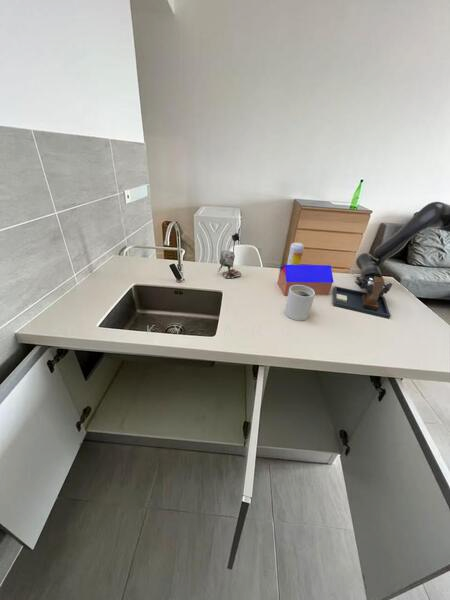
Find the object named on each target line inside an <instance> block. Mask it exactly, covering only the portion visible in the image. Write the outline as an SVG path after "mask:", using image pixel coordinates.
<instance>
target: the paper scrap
mask: <svg viewBox="0 0 450 600" xmlns="http://www.w3.org/2000/svg"><path fill="white" fill-rule="evenodd" d="M336 300H338V301H342V302H347V296H345V295H340V294H337V296H336Z"/></svg>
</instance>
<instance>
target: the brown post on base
mask: <svg viewBox="0 0 450 600" xmlns="http://www.w3.org/2000/svg"><path fill="white" fill-rule="evenodd" d="M382 277H383V276H382ZM382 277H376V276H374V279H373V281H372V284H371V286H372V293H371V295H370V294H368V293H367V292H366V293H367V296H366V295H363V296H362V298H361V300H362V306H363V308H364V309H368V310H373V311H377V310H378V308H379V306H378V303H377V300H378V298H379V295H380V293H381V291H382V289H383V287H384V284H386V281H385V280H384V277H383V278H382Z"/></svg>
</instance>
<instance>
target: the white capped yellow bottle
mask: <svg viewBox="0 0 450 600" xmlns="http://www.w3.org/2000/svg"><path fill="white" fill-rule="evenodd" d="M304 248H305V246H304V244H303V243H302V242H292V243H291V244H290V247H289V254H288V257H287V261H286V262H287V263H286V265H301V262H302V256H303V254H304Z"/></svg>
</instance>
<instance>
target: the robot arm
mask: <svg viewBox="0 0 450 600" xmlns="http://www.w3.org/2000/svg"><path fill="white" fill-rule="evenodd" d="M427 228H430V229H432V230H433V229H434V230H438V231H439V230H440V231H442V232H447V233H450V204H448V203H445V202H441V201H432V202H429V203H428V204H426V205H424V206H423V207H422V208H421V209H420V210H419V211H418V212H417V213H416V214H414V215H413V217H412V218H410V219H409V220H408V221H407V223H405V224H404V225H403V226H402V227H401V228H400V229H398V230H397V232H395V233H394V234H392V235H391V236H390V237H389V238H388V239H387V240H385V241H383V242H382V243H380V244H379V245H377V247H375V248H374V250H373V252H374V255H375V257H376V258H375V257H374V256H373V255H372V254H371V253H368V252H363V253H360V254H359V255H358V256H357V258H356V260H355V263H356V265H357V268H358V269H359V270H360V276H357V277H356V279H355V282H354V283H355V284H356V285H357V286H358V288H360V289H361V290H364V289H365V292H366V293H368V294H370V295H371V293H372V286H371V284H372V281H373V279H374V276H376V277H382V278H383V279H384V277H383V274H382V272H381V270H380V267H381V266H382V265H383V264H384V263H385V261H387V260H388V259H389V258H391V257H393V256H394V255H396V254H397V253H399V252H400V251H401V250H402V249H403V248H404V247H406V245H407V243H408V242H409V241H410V240H411V239H412V238H413V237H414V236H415V235H417V234H418V233H420V232H422V231H423V230H426V229H427ZM392 286H393V283H392V282H391V283H390V282H389V283H385V284H384V286H383V289H382V291H381V293H380V295H379V297H381V296H385V295H384V294H386V295H387V293H389V291H390V290H391V289H392Z"/></svg>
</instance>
